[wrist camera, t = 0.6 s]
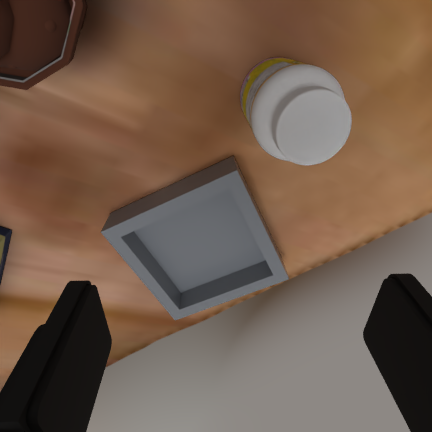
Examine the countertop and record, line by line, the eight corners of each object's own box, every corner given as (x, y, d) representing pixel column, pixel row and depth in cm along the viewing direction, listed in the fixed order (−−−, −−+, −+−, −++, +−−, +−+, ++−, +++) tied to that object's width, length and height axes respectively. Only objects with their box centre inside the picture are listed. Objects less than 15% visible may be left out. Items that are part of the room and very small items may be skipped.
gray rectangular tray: (233, 155, 32) (236, 170, 29) (281, 258, 40) (289, 279, 37) (110, 212, 36) (100, 232, 32) (177, 297, 43) (175, 320, 40)
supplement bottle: (317, 104, 30) (383, 145, 19) (260, 140, 32) (289, 198, 21) (287, 39, 27) (345, 44, 16) (226, 84, 29) (239, 115, 18)
